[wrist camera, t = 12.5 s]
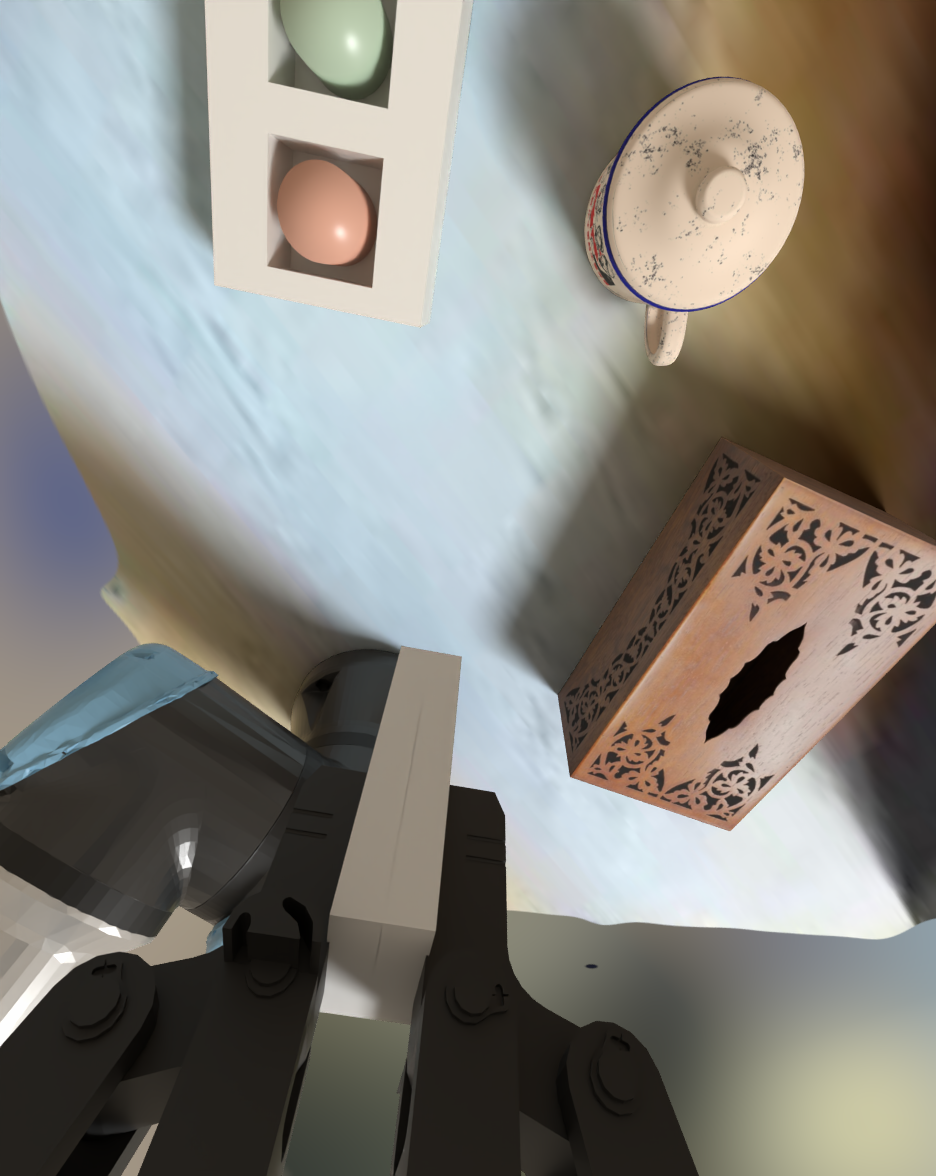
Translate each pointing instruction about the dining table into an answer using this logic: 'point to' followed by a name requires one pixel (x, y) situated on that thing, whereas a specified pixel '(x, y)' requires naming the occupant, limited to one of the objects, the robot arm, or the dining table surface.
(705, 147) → the teacup with lid
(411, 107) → the tray
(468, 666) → the dining table surface
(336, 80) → the button sage
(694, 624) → the tissue box cover
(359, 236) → the button terracotta
